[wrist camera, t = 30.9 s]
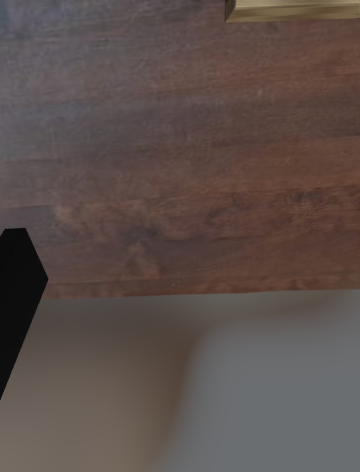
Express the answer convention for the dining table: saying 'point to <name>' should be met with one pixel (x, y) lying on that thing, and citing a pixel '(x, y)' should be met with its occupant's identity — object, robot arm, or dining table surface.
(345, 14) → the shelf
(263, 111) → the dining table surface
